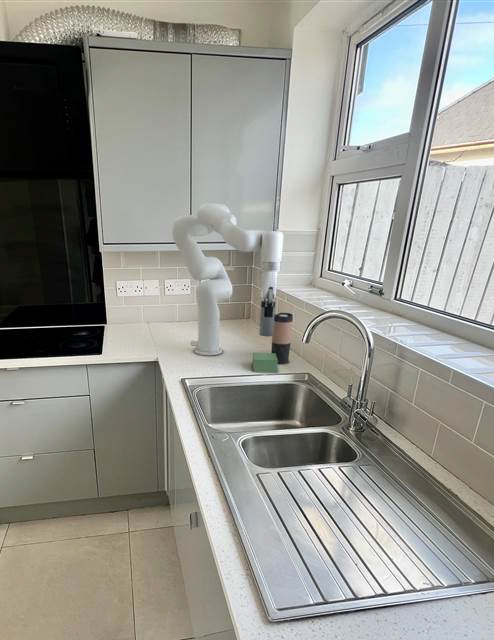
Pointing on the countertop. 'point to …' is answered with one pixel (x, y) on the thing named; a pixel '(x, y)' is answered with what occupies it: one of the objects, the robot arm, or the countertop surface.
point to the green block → (265, 362)
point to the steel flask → (266, 321)
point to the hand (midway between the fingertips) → (267, 314)
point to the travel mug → (282, 336)
